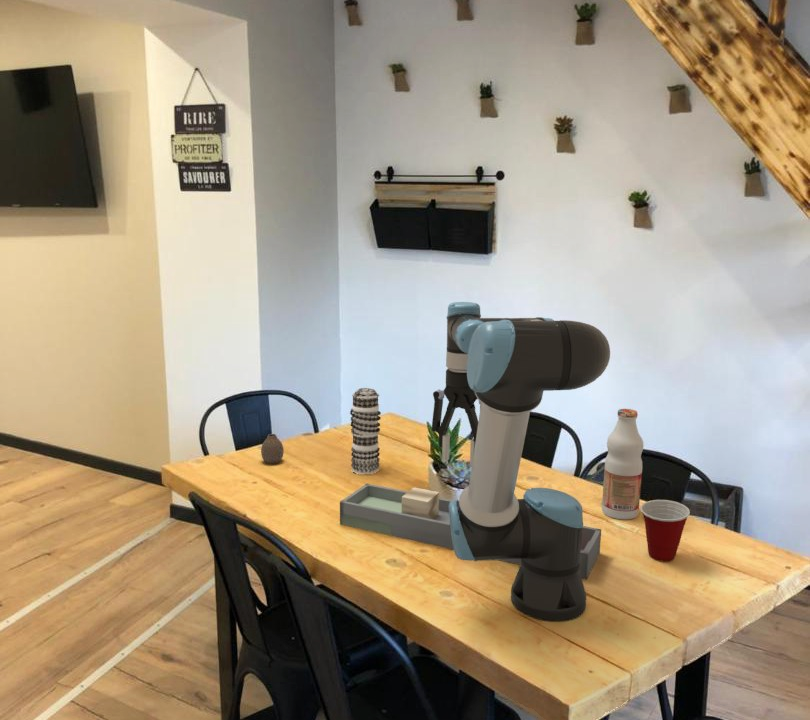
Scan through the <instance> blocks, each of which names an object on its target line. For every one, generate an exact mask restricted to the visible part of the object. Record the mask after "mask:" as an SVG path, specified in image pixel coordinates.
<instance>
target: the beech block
mask: <svg viewBox="0 0 810 720" xmlns="http://www.w3.org/2000/svg"><path fill="white" fill-rule="evenodd" d="M439 498H440V491H436V490H435V491H433V490H429V489H424V488H419V487H412V488H411V489H410V490H408V491H407V493H406V494H405V495H403V496H402V512H401V513H404V514H409V515H414V516H418V517H423V518H428V519H433V520H434V519H435V518H436V517H437V516H438V515H439Z"/></svg>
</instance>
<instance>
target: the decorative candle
mask: <svg viewBox="0 0 810 720" xmlns="http://www.w3.org/2000/svg"><path fill="white" fill-rule="evenodd" d="M351 396H352V405H351V406H352V407H351V408H350V412H349V414H350V415H351V417H350V426H351V429H350V430H351V431H350V432H351V435H352V444H351V445H352V447H351V449H350V451H352V452H351V454H350V455H351V459H350V462H351V465H350V466H351V472H352V471H353V472H355V473H358V474H357V475H360V474H371V475H373V474H372V473H375V472H377V471H379V472H380V449H381V448H380V447H379V445H380V444H379V441H378V440H379V435H380V432H381V428H380V426H381V423H380V422H379V421H380V420H381V416H380V415H381V414H382V413H381V411H380V410H379V407H380V405H379V397H380V394H379V393H378V392H377V391H376V390H375V389H374V388H369V387H368V388H367V387H364V388H363V387H362V388H358V389H356V390H355V392H353V393H352V395H351ZM353 472H352V473H353ZM355 473H354V474H355ZM377 473H378V472H377ZM375 474H376V473H375Z"/></svg>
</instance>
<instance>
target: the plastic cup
mask: <svg viewBox="0 0 810 720" xmlns="http://www.w3.org/2000/svg"><path fill="white" fill-rule="evenodd" d="M639 510H640V513H642V515H643V519H644V525H645V526H644V527H645V535H646V537H645V538H646V542H647V543H646V544H647V552H648V556H649V558H650V559H652V560H655V561H659V562H673V561H674V560H675V557H676V555H677V551H678V548H679V546H680V542H681V538H682V535H683V532H684V528H685V525H686V523H687V522H686V521H687V519H688V518H689V516H690V513H691V511H690V508H688V507H687V506H686V505H685V504H682V503H681V502H678V501H674V500H668V499H653V500H649V501H648V500H647V501H645V502H643V503H641V505H639Z"/></svg>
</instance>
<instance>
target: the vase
mask: <svg viewBox="0 0 810 720" xmlns="http://www.w3.org/2000/svg"><path fill="white" fill-rule="evenodd" d="M284 454H285V453H284V445H283V443H282V441H281V440H279V438H278V436H277V434H276V433H269V434H268V435H267V437H266V439H265V440H264V441H263V442H262V444H261V448H260V455H261V459H262V460H263V461H264V462H265V463H266V464H269V465H275V464H278V463H279V462H280V461H282V459H283V457H284Z"/></svg>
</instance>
